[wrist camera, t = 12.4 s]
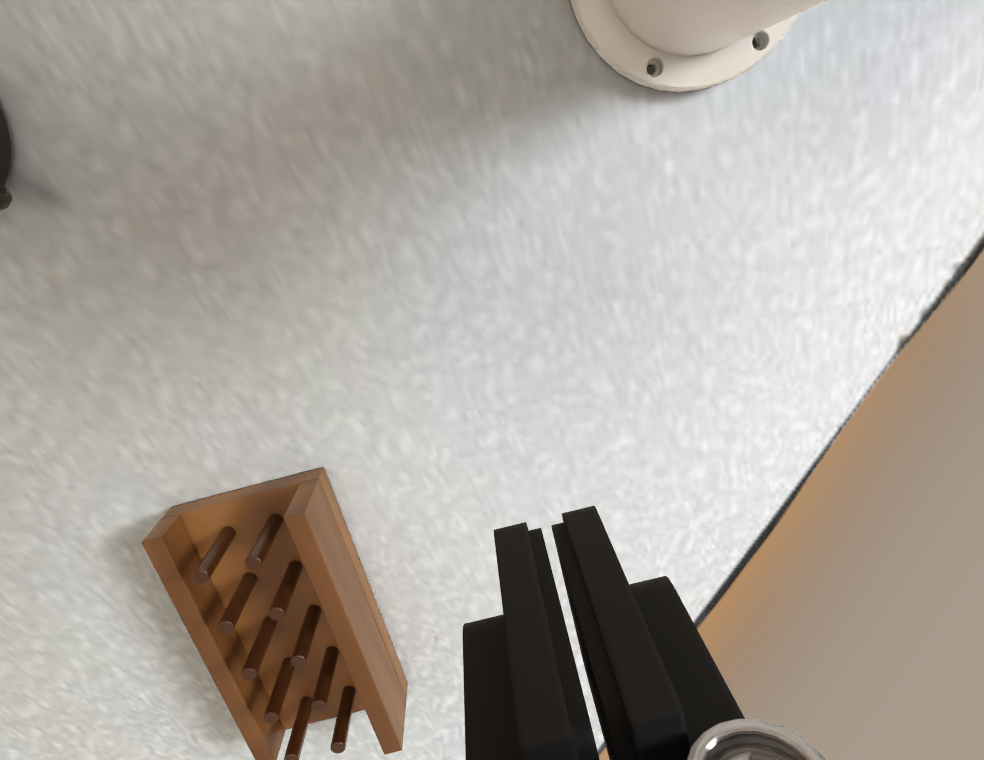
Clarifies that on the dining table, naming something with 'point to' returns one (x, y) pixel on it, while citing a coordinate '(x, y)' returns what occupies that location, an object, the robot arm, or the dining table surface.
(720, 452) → the dining table surface
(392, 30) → the dining table surface
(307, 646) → the rack
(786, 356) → the dining table surface
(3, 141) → the mug
